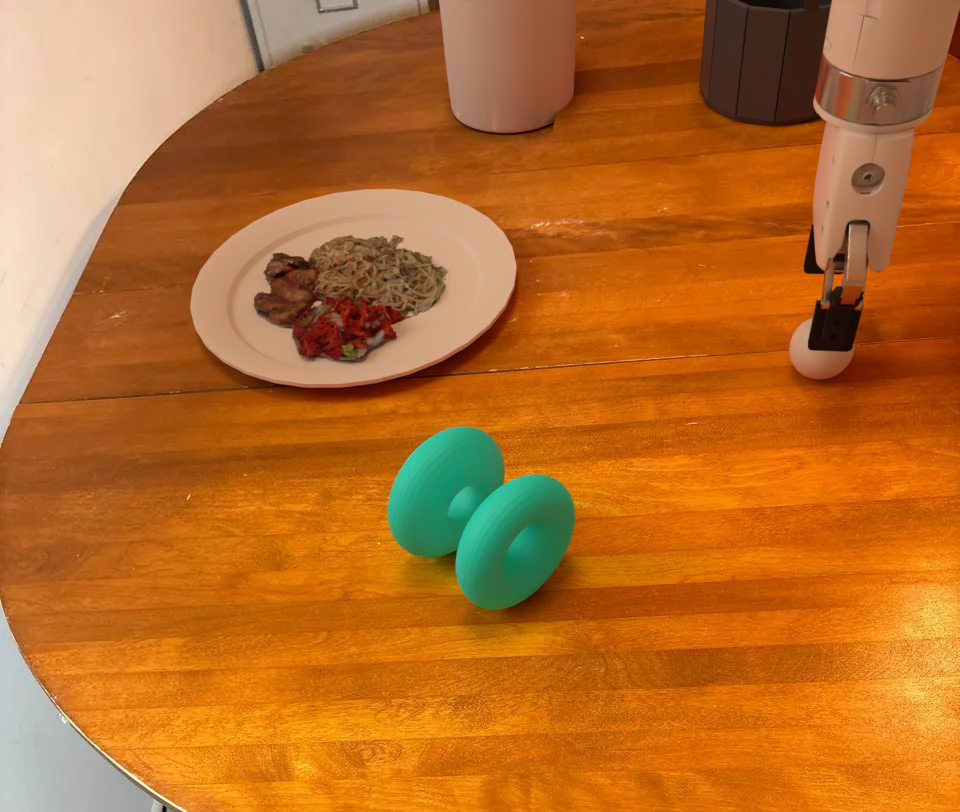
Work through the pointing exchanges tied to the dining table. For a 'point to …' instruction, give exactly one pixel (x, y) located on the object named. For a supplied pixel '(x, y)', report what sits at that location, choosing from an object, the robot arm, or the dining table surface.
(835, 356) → the pale pink ball
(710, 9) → the bin
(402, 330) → the plated food
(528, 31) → the utensil holder
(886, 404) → the dining table surface
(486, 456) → the teal spool
